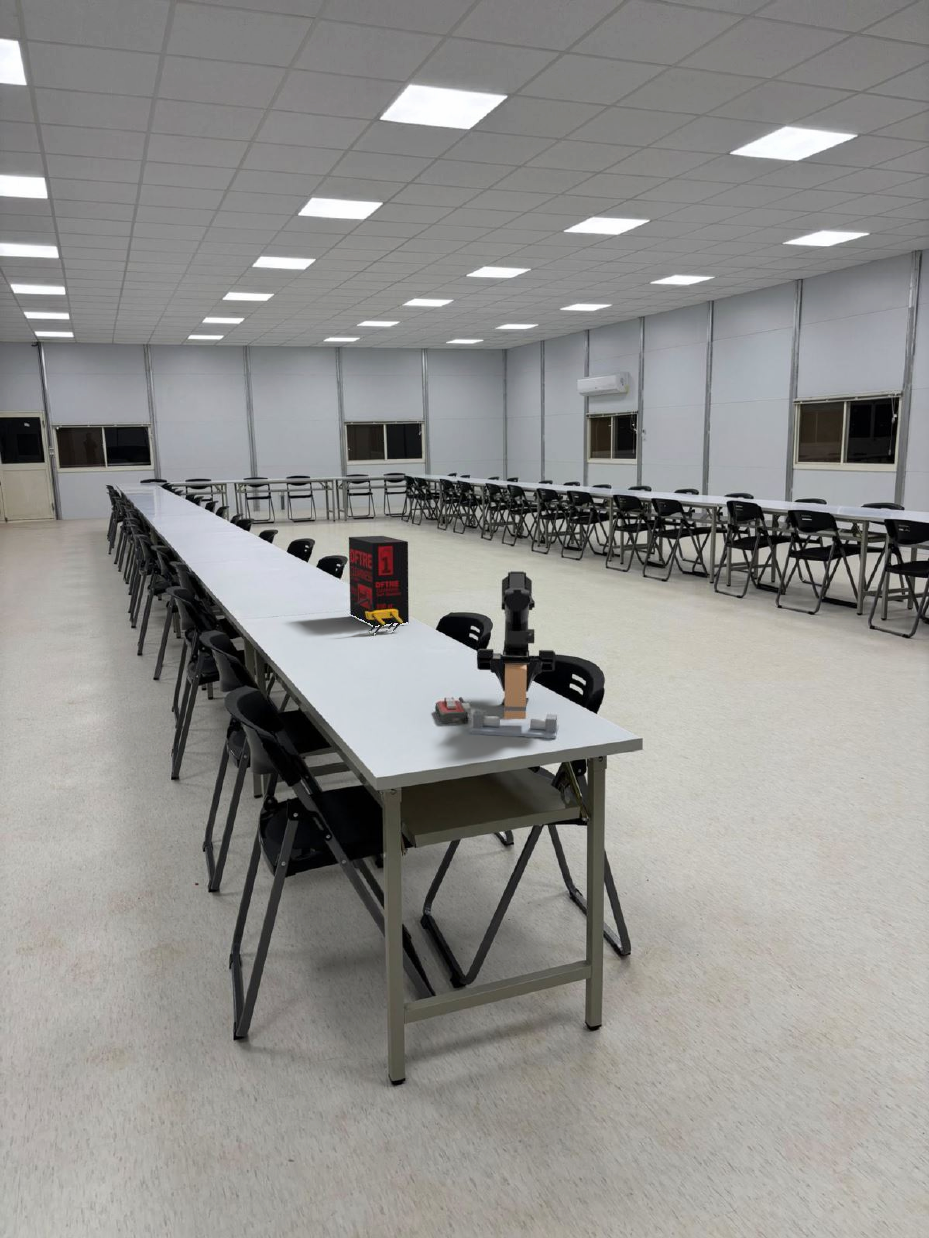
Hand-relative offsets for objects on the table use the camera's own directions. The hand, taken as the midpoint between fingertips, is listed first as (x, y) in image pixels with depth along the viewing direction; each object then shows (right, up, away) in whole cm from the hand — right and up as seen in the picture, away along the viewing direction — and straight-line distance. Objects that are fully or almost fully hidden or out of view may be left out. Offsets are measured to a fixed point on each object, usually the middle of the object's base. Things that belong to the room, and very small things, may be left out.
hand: (515, 690), depth 208 cm
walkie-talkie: (-15, -8, +16) cm, 23 cm away
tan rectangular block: (0, -6, +3) cm, 7 cm away
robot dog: (-44, +11, +115) cm, 123 cm away
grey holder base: (0, -10, +2) cm, 10 cm away
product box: (-46, +16, +139) cm, 147 cm away
